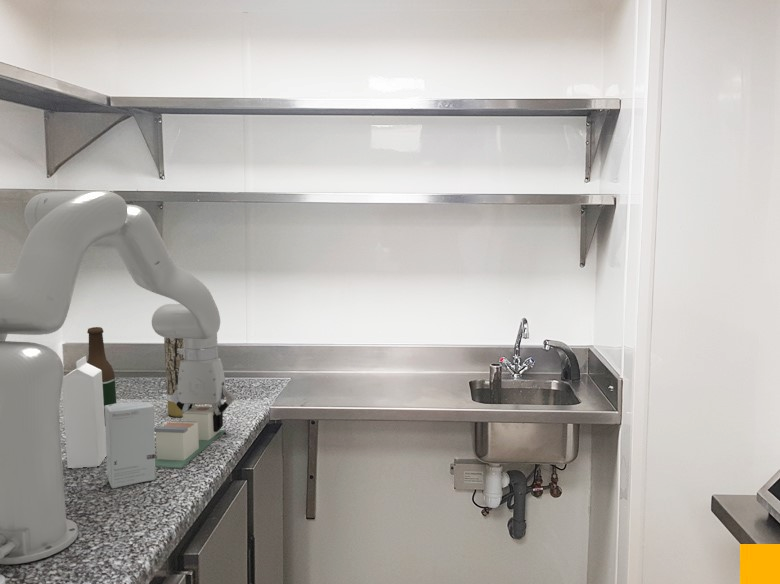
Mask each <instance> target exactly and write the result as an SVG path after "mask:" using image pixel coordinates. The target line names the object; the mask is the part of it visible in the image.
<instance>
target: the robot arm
mask: <svg viewBox="0 0 780 584" xmlns="http://www.w3.org/2000/svg"><path fill="white" fill-rule="evenodd" d="M23 214H24V216H23V217H24V221H25V224H26V226H27V228H28V230H29V232H28V233H29V234H28V236H27V237H26V239H25V241H24V243H23V246H22V249H21V252H20V255H19V257H18V261H17V263H16V266H15V268H14V270H13V271H12V272H11V273H0V565H20V564H25V563H26V564H27V563H31V562H36V561H39V560H43V559H45V558H48V557H51V556H53V555H55V554H57V553H60V552H61V551H63V550H65V549H66V548H68V547H69V546H70V545H71V544H73V543H74V542H75V541H76V540H77V538H78V536H79V528H78V524H77V523H76V522H75V521H73V520H71V519H68V518H67V514H66V512H67V511H66V497H65V480H64V470H63V468H64V467H63V454H62V451H63V450H62V440H61V427H60V426H61V425H60V423H61V422H60V407H61V406H60V405H61V395H62V384H63V377H64V376H65V375H64V373H65V372H64V365H63V362H62V359H61V357H60V356H59V354H58V353H57V352H56V351H55V350H54V349H53V348H51V347H49V346H46V345H43V344H41V343H36V342H30V341H10V340H6V339H7V337H8V335H23V336H29V335H31V336H41V335H49V334H53V333H56V332H57V331H59V330H60V329H61V328H62V327H63V326H64V324H65V322H66V320H67V317H68V312H69V310H70V307H71V302H72V297H73V294H74V291H75V286H76V283H77V279H78V274H79V270H80V268H81V265H82V263H83V259H84V257H85V256H86V253H87V252H88V251H89V250H90V249H101V250H102V249H104V250H105V249H108V250H111V249H112V250H115V251H116V253H117V254H118V256H119V257H120V259H121V261H122V263H123V264H124V266H125V268H126V269H127V271H128V273H129V275H130V277H131V278H132V280H133V281H134V283H135V284H136V285H137V286H138V287H140V288H142V289H144V290H146V291H149V292H151V293H154V294H156V295H160V296H162V297H165V298H167V299H171V300H173V301H175V302H177V303H166V304H163V305H161V306H159V307H158V308H157V309H155V311H154V312H153V314H152V317H151V326H152V329H153V330H154V332H155V333H156V335H159V336H160V337H163V338H164V337H166V338H182V339H183V343H184V347H183V348H182V349H179V354H182V355H183V358H184V359H183V360H181V362H180V367H179V375H178V389H177V390H176V391H175V393H174V394H173V395H172V396H171V397H170V398H171V400H172V401H173V402H174V403H175V404H177V406H178V407H179V408H180V409H181V410H182V413H185V412H186V411H188V410H189V409H191V408H192V407H193V404H195V405H209V406H210V405H211V407H213V409H214V412H215V415H213V427H214V432H217V431H219V430H222V428H223V426H224V418H223V417H224V414H223V413H224V412H225V411H226V409H228V407H230V405H232V403H233V402H234V401H235V400H236V397H235V395H234V394H233V393H232V392H231V391H230V390H229V389H228V388H227V387H226V380H225V378H226V377H225V372H224V367H223V363H222V359H221V358H219V349H218V348H219V347H218V332H219V330H220V327H221V316H220V315H221V314H220V311H219V308H218V306H217V304H216V302H215V300H214V297H213V295H212V293H211V291H210V290H209V288H207V286H206V285H205V284H204V283H203V282H202V281H200V280H199V279H198V278H197V277H195V276H194V275H193V274H191V273H190V272H189V271H187V270H186V269H185V268H183V267H182V266H179V265H178V264H176V263H175V261H174V259H173V258H172V255H171V254H170V251H169V250H168V248H167V246H166V244H165V241H164V240H163V238H162V236H161V234H160V232H159V230H158V228H157V226H156V224H155V222H154V220H153V219H152V216H151V214H150V213H149V212H148V211H147V210H146V209H145V208H144V207H142V206H139V205H136V204H127V202H126V201H125V199H124V198H123V197H122V196H120V195H119V194H117V193H115V192H113V191H109V190H104V189H103V190H101V189H100V190H76V191H49V192H41V193H39V194H36V195H34V196H32V198H31V199H30V200H29V201H28V202H27V204H26V206H25V207H24V213H23ZM224 399H225V401H224V402H222V400H224Z"/></svg>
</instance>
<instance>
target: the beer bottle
mask: <svg viewBox="0 0 780 584" xmlns="http://www.w3.org/2000/svg"><path fill="white" fill-rule="evenodd" d="M86 333H87V334H88V355H87V356H88V357H87V360H86V362H87V363H88V364H90V365H92V366H94V367H96V368H98V369H100V370H102V384H103V400H104V417H105V405H111V404H117V393H116V390H117V389H116V377H115V371H114V369H113V367H112V365H111V364H110V362H109V361H108V360H107V356H106V351H105V344H104V335H103V333H104V329H103V327H101V326H100V327H99V326H93V327H88V328H87V332H86Z"/></svg>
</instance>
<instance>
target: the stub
mask: <svg viewBox="0 0 780 584" xmlns="http://www.w3.org/2000/svg"><path fill="white" fill-rule="evenodd" d="M213 415H215V412H214V409H213V407H212V406H204V405H203V406H202V405H200V406H199V405H197V406H196V405H195V406H194V407H192V408H191V409H189V410H188V411H186V412H185V413H183V417H182V421H196V422H198V440H210V439H211V438H212V437H214V436H215V435H216V434H217V433H219V432H220V430H221V429H220V430H219V431H217V432H214V427H213Z"/></svg>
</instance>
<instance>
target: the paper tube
mask: <svg viewBox="0 0 780 584" xmlns="http://www.w3.org/2000/svg"><path fill="white" fill-rule="evenodd" d="M163 338H164V339H163V341H164V359H165V360H164V361H165V380H166V381H165V383H166V400H167V403H166V404H167V413H168V415H169V416H171V417H175V418H181V417H182V418H183V413H182V410H181V409H180V408H179V407H178V406H177V404H175V403H174V402H173V401H172V400H171V398H170V397H171V396H172V395H173V394H174V393H175V391H176V390H177V389H178V375H179V367H180V362H181V360H183V359H184V358H183V355H182V354H179V349H182V348H183V347H184V343H183V339H182V338H166V337H163ZM194 406H196V404H193V407H194Z"/></svg>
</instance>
